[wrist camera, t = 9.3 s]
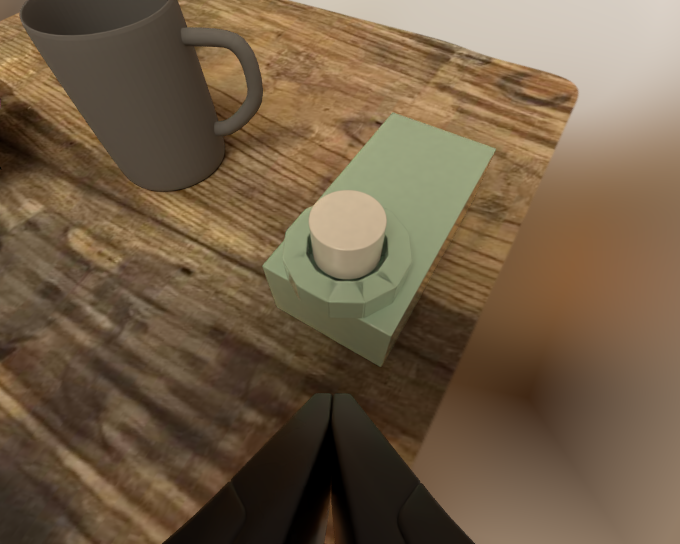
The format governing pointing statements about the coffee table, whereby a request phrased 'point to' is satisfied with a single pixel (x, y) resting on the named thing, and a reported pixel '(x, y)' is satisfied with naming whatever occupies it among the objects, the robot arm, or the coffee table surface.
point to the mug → (142, 83)
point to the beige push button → (347, 233)
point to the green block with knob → (400, 236)
